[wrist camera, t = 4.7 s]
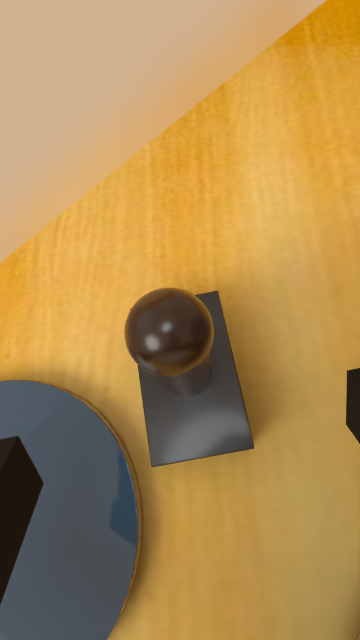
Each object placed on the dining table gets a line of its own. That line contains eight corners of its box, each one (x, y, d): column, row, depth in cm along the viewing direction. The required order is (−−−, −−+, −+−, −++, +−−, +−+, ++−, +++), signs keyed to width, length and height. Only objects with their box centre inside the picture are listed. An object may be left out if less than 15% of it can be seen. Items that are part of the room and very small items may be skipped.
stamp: (137, 320, 25) (67, 213, 13) (217, 303, 25) (219, 181, 13) (158, 464, 22) (88, 497, 10) (250, 447, 22) (294, 459, 10)
